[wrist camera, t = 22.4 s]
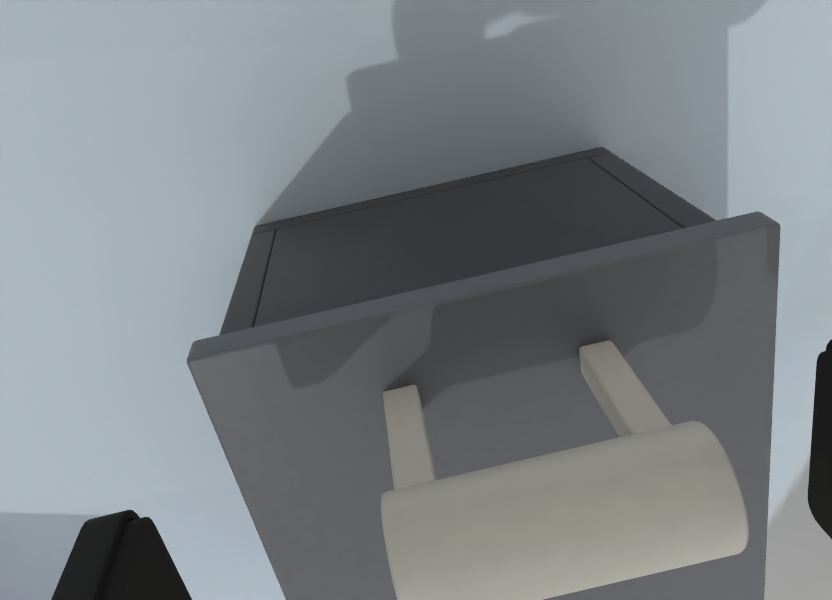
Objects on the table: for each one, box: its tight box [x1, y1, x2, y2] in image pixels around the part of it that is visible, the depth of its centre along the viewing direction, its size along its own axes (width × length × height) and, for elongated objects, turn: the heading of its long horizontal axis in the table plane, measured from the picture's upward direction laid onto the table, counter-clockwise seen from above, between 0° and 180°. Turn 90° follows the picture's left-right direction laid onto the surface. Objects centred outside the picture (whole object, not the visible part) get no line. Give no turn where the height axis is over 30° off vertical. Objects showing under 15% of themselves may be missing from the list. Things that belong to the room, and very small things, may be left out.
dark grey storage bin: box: [220, 147, 716, 335], centre depth 22 cm, size 14×12×9 cm
